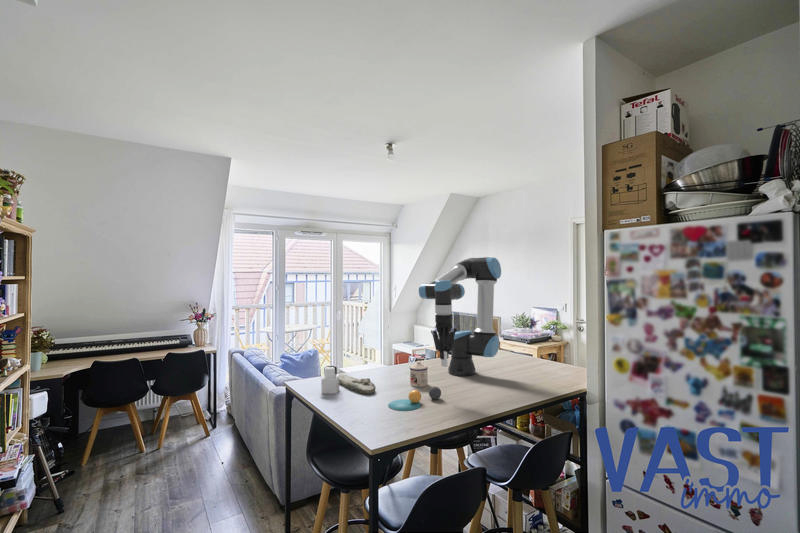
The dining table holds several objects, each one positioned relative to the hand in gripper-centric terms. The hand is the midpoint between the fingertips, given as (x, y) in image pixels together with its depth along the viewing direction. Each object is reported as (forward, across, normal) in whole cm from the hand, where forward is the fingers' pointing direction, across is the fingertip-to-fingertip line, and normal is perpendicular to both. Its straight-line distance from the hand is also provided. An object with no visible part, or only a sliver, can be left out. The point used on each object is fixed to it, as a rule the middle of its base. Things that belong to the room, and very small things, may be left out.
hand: (444, 366), depth 175 cm
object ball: (+11, +16, 0) cm, 19 cm away
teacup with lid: (+14, 0, -21) cm, 25 cm away
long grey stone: (+15, +29, -38) cm, 50 cm away
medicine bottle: (+14, +42, -35) cm, 56 cm away
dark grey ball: (+11, +6, 0) cm, 13 cm away
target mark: (+14, +21, 0) cm, 25 cm away
